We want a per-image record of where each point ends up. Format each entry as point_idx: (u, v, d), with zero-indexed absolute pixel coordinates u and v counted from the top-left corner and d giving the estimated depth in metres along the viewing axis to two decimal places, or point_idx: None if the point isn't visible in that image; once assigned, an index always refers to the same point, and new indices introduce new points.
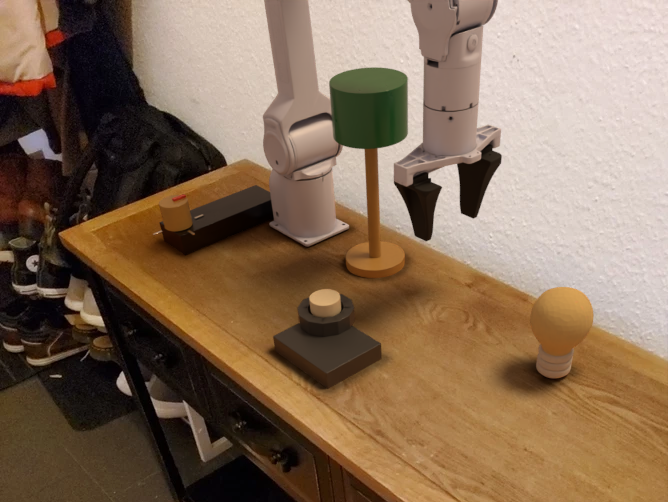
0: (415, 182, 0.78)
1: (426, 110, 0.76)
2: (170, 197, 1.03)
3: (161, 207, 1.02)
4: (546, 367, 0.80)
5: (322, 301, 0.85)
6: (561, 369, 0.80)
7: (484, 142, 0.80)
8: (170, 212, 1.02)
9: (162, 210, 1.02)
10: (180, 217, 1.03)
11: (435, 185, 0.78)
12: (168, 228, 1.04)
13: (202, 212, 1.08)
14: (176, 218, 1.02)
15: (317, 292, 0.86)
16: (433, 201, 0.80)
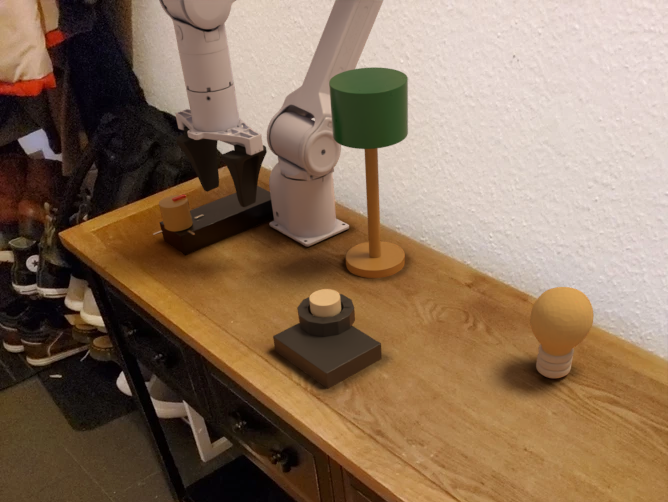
0: (185, 131, 0.95)
1: None
2: (170, 197, 1.03)
3: (161, 207, 1.02)
4: (546, 367, 0.80)
5: (322, 301, 0.85)
6: (561, 369, 0.80)
7: (221, 135, 0.88)
8: (170, 212, 1.02)
9: (162, 210, 1.02)
10: (180, 217, 1.03)
11: (185, 140, 0.94)
12: (168, 228, 1.04)
13: (202, 212, 1.08)
14: (176, 218, 1.02)
15: (317, 292, 0.86)
16: (189, 154, 0.95)
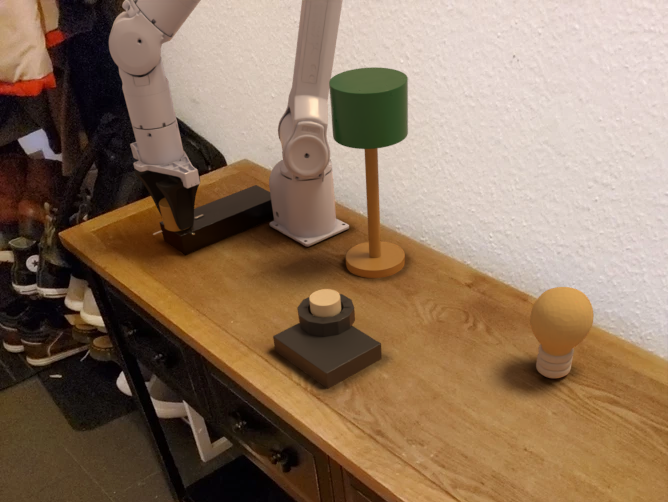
0: None
1: None
2: None
3: (161, 207, 1.02)
4: (546, 367, 0.80)
5: (322, 301, 0.85)
6: (561, 369, 0.80)
7: (162, 169, 0.96)
8: (170, 212, 1.02)
9: (162, 210, 1.02)
10: None
11: (141, 173, 1.00)
12: (168, 228, 1.04)
13: (202, 212, 1.08)
14: None
15: (317, 292, 0.86)
16: (146, 185, 1.02)
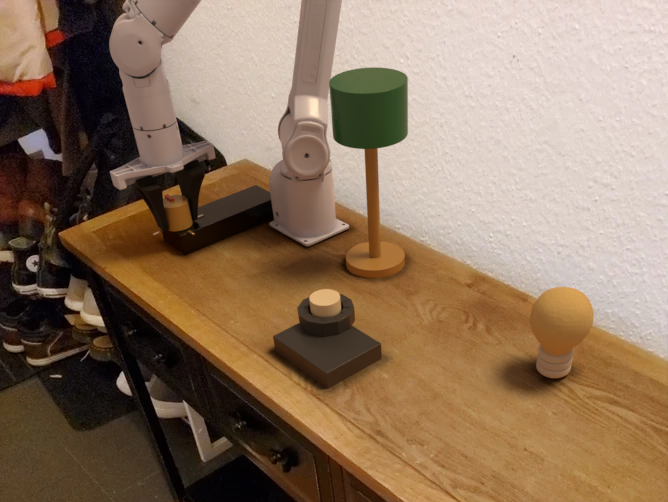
0: (140, 183, 0.97)
1: (133, 129, 0.95)
2: (163, 203, 1.02)
3: (181, 206, 1.02)
4: (546, 367, 0.80)
5: (322, 301, 0.85)
6: (561, 369, 0.80)
7: (192, 155, 0.99)
8: (187, 205, 1.03)
9: (182, 209, 1.02)
10: None
11: (156, 186, 0.98)
12: (188, 225, 1.04)
13: (202, 212, 1.08)
14: (189, 210, 1.04)
15: (317, 292, 0.86)
16: (158, 198, 0.99)
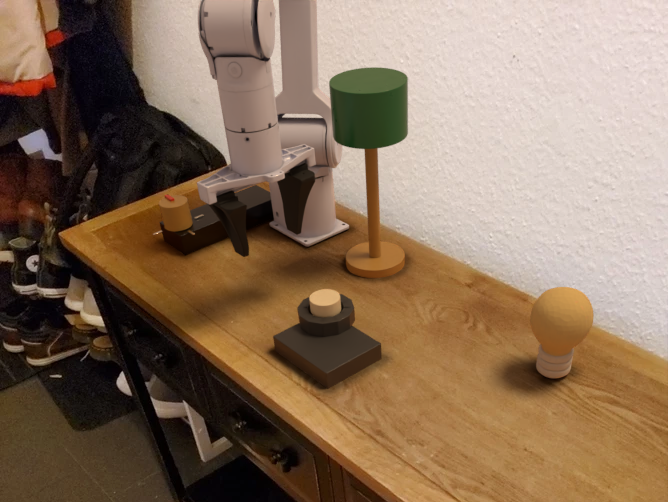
0: (220, 200, 0.80)
1: (226, 131, 0.78)
2: (163, 203, 1.02)
3: (181, 206, 1.02)
4: (546, 367, 0.80)
5: (322, 301, 0.85)
6: (561, 369, 0.80)
7: (292, 161, 0.82)
8: (187, 205, 1.03)
9: (182, 209, 1.02)
10: None
11: (240, 203, 0.80)
12: (188, 225, 1.04)
13: (202, 212, 1.08)
14: (189, 210, 1.04)
15: (317, 292, 0.86)
16: (241, 219, 0.82)
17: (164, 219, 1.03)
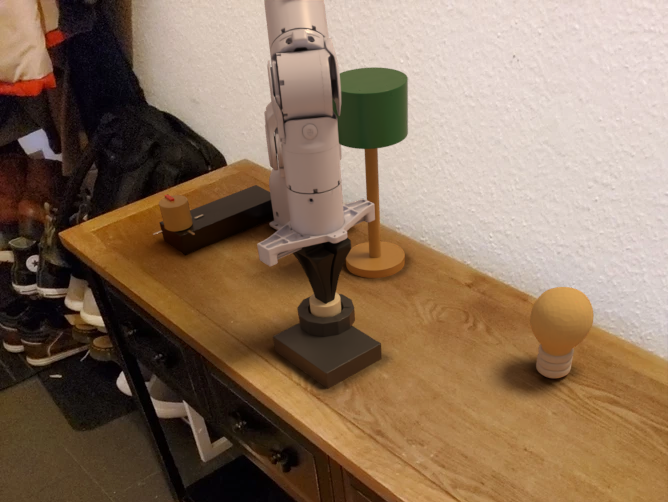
0: (307, 250, 0.79)
1: (288, 191, 0.75)
2: (163, 203, 1.02)
3: (181, 206, 1.02)
4: (546, 367, 0.80)
5: (322, 302, 0.85)
6: (561, 369, 0.80)
7: (354, 219, 0.79)
8: (187, 205, 1.03)
9: (182, 209, 1.02)
10: None
11: (327, 252, 0.79)
12: (188, 225, 1.04)
13: (202, 212, 1.08)
14: (189, 210, 1.04)
15: None
16: (327, 267, 0.80)
17: (164, 219, 1.03)
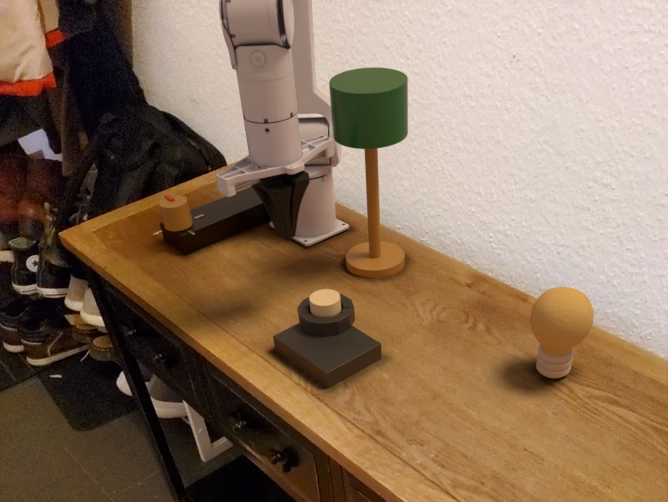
0: (265, 182, 0.80)
1: (245, 122, 0.77)
2: (163, 203, 1.02)
3: (181, 206, 1.02)
4: (546, 367, 0.80)
5: (322, 301, 0.85)
6: (561, 369, 0.80)
7: (311, 152, 0.81)
8: (187, 205, 1.03)
9: (182, 209, 1.02)
10: None
11: (285, 185, 0.80)
12: (188, 225, 1.04)
13: (202, 212, 1.08)
14: (189, 210, 1.04)
15: (317, 292, 0.86)
16: (286, 201, 0.82)
17: (164, 219, 1.03)
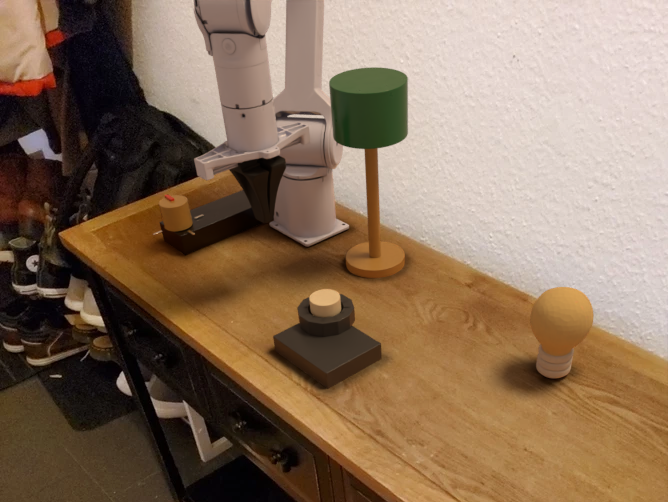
0: (243, 167, 0.83)
1: (222, 108, 0.80)
2: (163, 203, 1.02)
3: (181, 206, 1.02)
4: (546, 367, 0.80)
5: (322, 301, 0.85)
6: (561, 369, 0.80)
7: (287, 138, 0.84)
8: (187, 205, 1.03)
9: (182, 209, 1.02)
10: None
11: (262, 169, 0.83)
12: (188, 225, 1.04)
13: (202, 212, 1.08)
14: (189, 210, 1.04)
15: (317, 292, 0.86)
16: (263, 185, 0.85)
17: (164, 219, 1.03)
